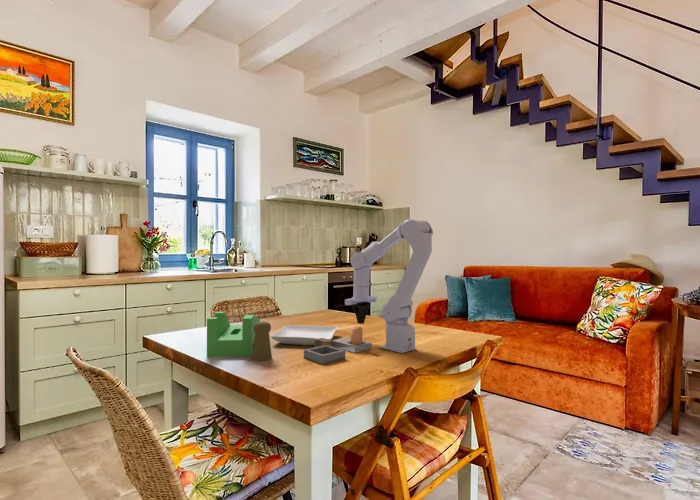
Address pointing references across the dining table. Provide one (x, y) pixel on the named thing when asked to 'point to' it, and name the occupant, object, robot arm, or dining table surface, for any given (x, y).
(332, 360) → the tray
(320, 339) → the block
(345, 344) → the grey flat frame
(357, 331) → the dowel
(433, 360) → the dining table surface
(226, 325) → the ramp block with notch
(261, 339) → the brown pawn
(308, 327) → the salad plate
